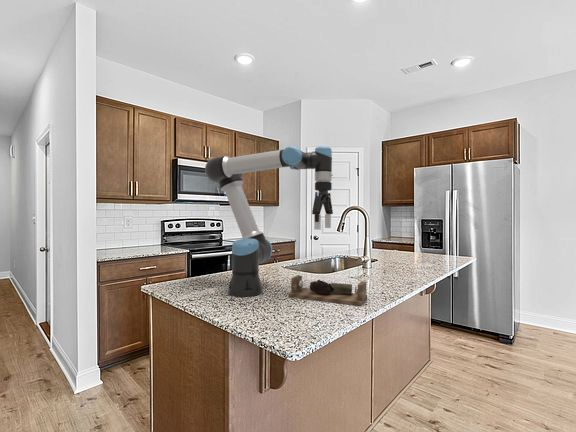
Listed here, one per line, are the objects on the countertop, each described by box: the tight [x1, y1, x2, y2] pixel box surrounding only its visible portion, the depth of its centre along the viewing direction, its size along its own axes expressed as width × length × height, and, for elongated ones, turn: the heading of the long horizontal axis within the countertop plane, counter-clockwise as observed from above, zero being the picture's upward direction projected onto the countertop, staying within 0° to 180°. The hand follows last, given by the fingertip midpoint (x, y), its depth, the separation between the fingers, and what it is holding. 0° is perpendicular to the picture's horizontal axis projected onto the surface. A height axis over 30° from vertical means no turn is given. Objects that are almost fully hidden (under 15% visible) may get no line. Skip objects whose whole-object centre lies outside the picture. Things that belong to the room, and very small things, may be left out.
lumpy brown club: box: [309, 279, 353, 295], centre depth 136 cm, size 18×7×6 cm, turn 79°
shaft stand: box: [288, 274, 368, 307], centre depth 135 cm, size 30×12×8 cm, turn 65°
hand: (322, 228), depth 146 cm, fingers open, 13 cm apart
